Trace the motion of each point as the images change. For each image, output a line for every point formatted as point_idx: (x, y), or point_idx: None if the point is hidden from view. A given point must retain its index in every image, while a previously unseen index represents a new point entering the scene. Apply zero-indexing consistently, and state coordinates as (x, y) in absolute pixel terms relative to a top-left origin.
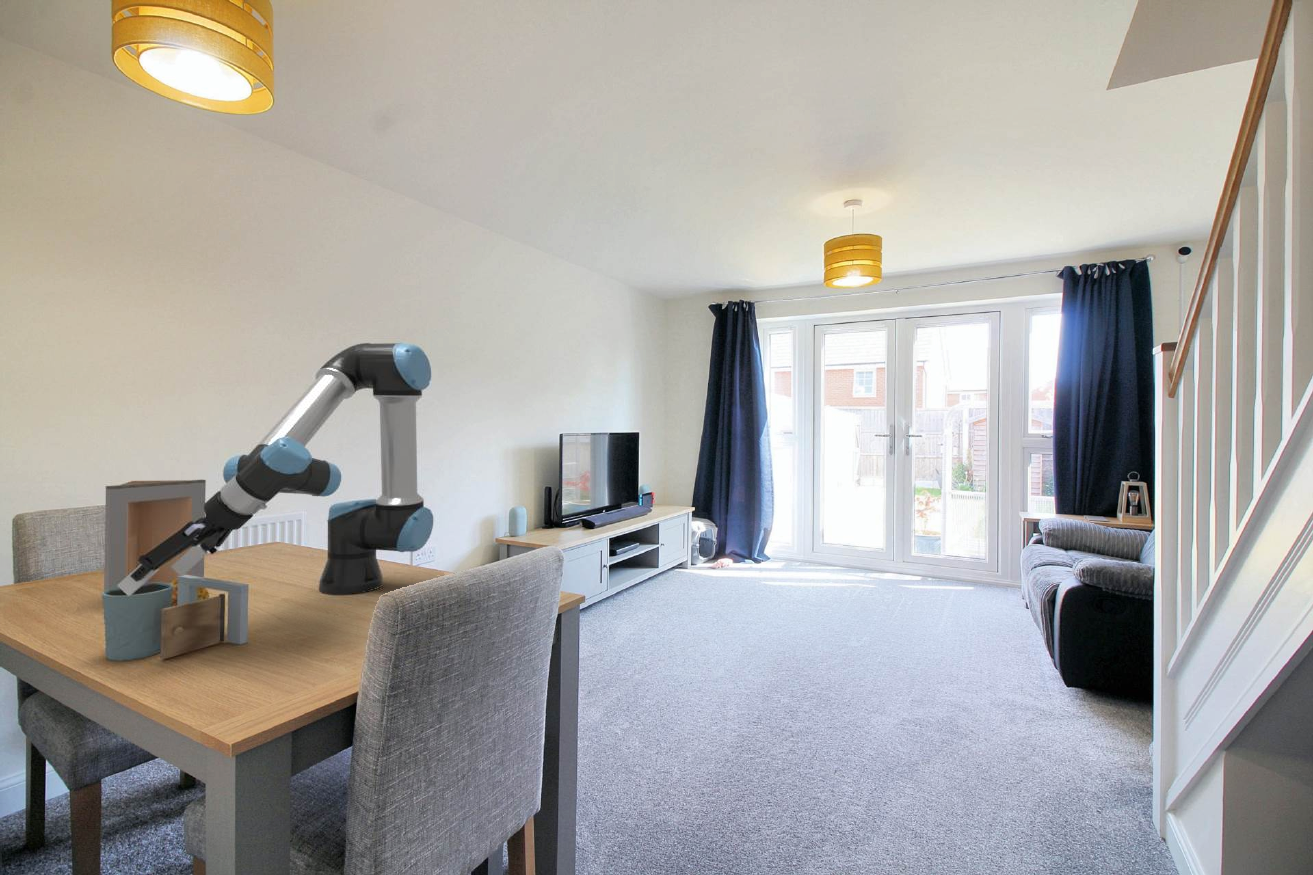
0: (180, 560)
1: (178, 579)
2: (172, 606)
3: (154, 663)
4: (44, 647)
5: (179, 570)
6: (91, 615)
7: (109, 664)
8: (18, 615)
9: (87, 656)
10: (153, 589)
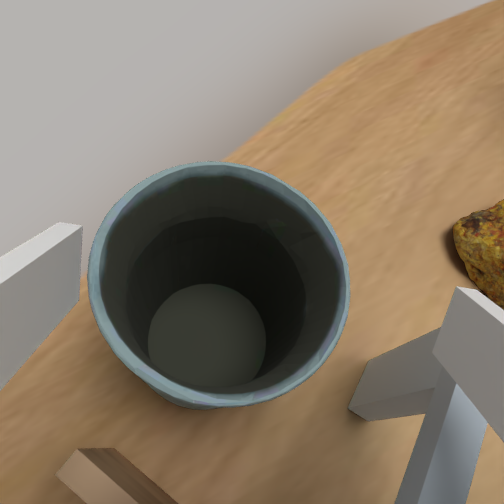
0: (487, 326)
1: None
2: (501, 276)
3: (85, 446)
4: (270, 134)
5: (449, 336)
6: (472, 120)
7: None
8: (456, 23)
9: None
10: (325, 287)
